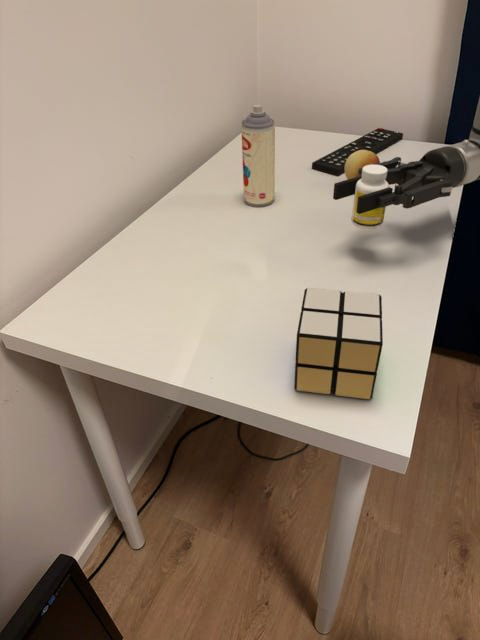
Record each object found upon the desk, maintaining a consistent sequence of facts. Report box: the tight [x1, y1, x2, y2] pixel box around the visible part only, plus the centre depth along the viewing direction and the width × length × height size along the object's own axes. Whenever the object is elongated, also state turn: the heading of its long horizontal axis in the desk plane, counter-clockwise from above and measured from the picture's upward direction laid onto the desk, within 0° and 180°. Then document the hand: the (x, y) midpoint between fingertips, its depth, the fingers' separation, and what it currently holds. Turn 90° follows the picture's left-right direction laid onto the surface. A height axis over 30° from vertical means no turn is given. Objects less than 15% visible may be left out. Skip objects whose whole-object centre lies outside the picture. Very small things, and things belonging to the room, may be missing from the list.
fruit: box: [344, 150, 381, 180], centre depth 109 cm, size 8×8×8 cm
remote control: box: [311, 127, 404, 177], centre depth 126 cm, size 8×32×2 cm, turn 137°
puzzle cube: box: [293, 287, 384, 400], centre depth 63 cm, size 10×10×10 cm
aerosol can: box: [240, 104, 276, 208], centre depth 102 cm, size 7×7×20 cm
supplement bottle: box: [351, 165, 390, 231], centre depth 82 cm, size 5×5×10 cm
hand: (346, 198), depth 79 cm, fingers closed on supplement bottle, 5 cm apart
